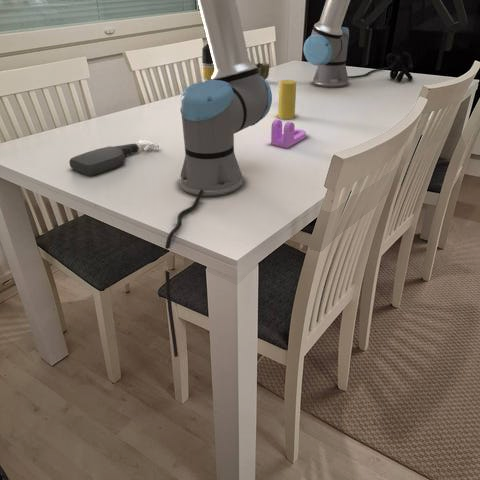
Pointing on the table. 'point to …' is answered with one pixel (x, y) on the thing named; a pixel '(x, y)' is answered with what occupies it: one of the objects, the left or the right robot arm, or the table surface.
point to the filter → (207, 62)
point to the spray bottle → (106, 157)
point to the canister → (287, 99)
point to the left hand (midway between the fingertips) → (400, 67)
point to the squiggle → (399, 66)
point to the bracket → (285, 134)
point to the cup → (263, 70)
